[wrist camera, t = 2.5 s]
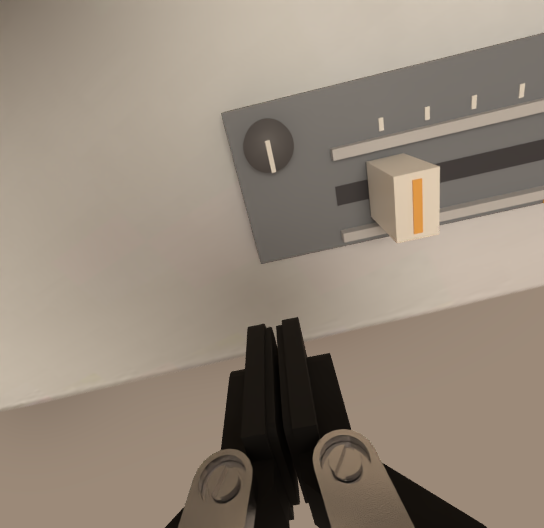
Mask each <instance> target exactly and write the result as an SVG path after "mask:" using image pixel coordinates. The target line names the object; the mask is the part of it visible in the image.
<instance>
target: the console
mask: <svg viewBox="0 0 544 528" xmlns="http://www.w3.org/2000/svg"><path fill="white" fill-rule="evenodd" d="M221 115H222V119H223V123H224V127H225V130H226V134H227V138H228V142H229V145H230V149H231V153H232V157H233V160H234V164H235V168H236V172H237V175H238V179H239V183H240V187H241V191H242V194H243V198H244V202H245V206H246V209H247V213H248V217H249V221H250V224H251V228H252V232H253V236H254V239H255V243H256V247H257V251H258V254H259V258H260V262H261V264H263V263H268V262H273V261H277V260H282V259H286V258H291V257H296V256H300V255H305V254H309V253H314V252H319V251H323V250H328V249H333V248H337V247H342V246H346V245H351V244H356V243H360V242H365V241H369V240H374V239H379V238H383V237H388V236H389V235H388V234H387V233H386V232H385V231H384V229H383V228H382V227H381V226H380V225H379V224H378V223H377V222H376V221H375V220H374V219H373V218H372V217H371V210H370V199H369V188H368V176H367V165H366V162H367V161H372V160H376V159H380V158H384V157H389V156H393V155H397V154H402V153H404V154H407V155H409V156H412V157H415V158H418V159H420V160H423V161H426V162H429V163H432V164H434V165H437V166H440V209H439V225H443V224H448V223H452V222H457V221H461V220H466V219H471V218H475V217H480V216H485V215H489V214H494V213H498V212H503V211H508V210H512V209H517V208H521V207H526V206H531V205H535V204H540V203H544V33H542V34H538V35H534V36H529V37H525V38H521V39H517V40H513V41H509V42H505V43H501V44H497V45H493V46H489V47H485V48H481V49H477V50H473V51H469V52H465V53H461V54H457V55H453V56H449V57H445V58H441V59H437V60H433V61H429V62H425V63H421V64H417V65H413V66H409V67H404V68H400V69H396V70H392V71H388V72H384V73H380V74H376V75H372V76H368V77H364V78H360V79H356V80H352V81H348V82H344V83H340V84H336V85H332V86H328V87H324V88H320V89H316V90H312V91H308V92H304V93H300V94H296V95H292V96H288V97H284V98H280V99H275V100H271V101H267V102H263V103H259V104H255V105H251V106H247V107H243V108H239V109H235V110H231V111H227V112H224V113H221Z"/></svg>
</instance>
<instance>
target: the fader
mask: <svg viewBox="0 0 544 528" xmlns="http://www.w3.org/2000/svg"><path fill="white" fill-rule="evenodd" d="M366 165H367V176H368V188H369V199H370V210H371V217H372V218H373V219H374V220H375V221H376V222H377V223H378V224H379V225H380V226H381V227H382V228H383V229H384V231H385V232H386V233H387V234H388V235H389V236H390V237H391V238H392V239H393V240H394V241H395V242H396V243H401V242H406V241H410V240H415V239H420V238H424V237H429V236H433V235H438V234H439V209H440V166H437V165H434V164H432V163H429V162H426V161H423V160H420V159H418V158H415V157H412V156H409V155H407V154H404V153H402V154H397V155H393V156H389V157H384V158H380V159H376V160H372V161H367V162H366Z"/></svg>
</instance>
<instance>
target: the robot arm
mask: <svg viewBox="0 0 544 528" xmlns="http://www.w3.org/2000/svg"><path fill="white" fill-rule="evenodd" d="M276 330H277V344H276V341H275V337H274V333H273V330H272V327H268V328H266V326H265V324H261V325H256V326H250V327H248V330H247V346H246V363H245V369H243V370H239V371H233V372H231V373H230V377H229V386H228V394H227V403H226V411H225V420H224V428H223V437H222V445H221V450H220V451H218V452H216V453H214V454H212V455H211V456H209V457H208V458H207V459H206V460H205V461H204V462H203V463H202V464H201V466H200V467H199V468H198V470H197V472H196V474H195V476H194V478H193V481H192V485H191V488H190V491H189V494H188V497H187V501H186V504H185V507H184V508H183V509H182V510H181V511H180V512H179V513H178V514H177V515H176V516H175V517H174V518H173V519H172V521H171V522H170V523H169V524H168V525H167V526H166V527H165V528H289V520H294V512H293V505H298V504H300V498H299V488H298V480H299V483H300V486H301V490H302V493H303V496H304V500H305V503H309V506H310V509H311V512H312V516H313V519H314V523H315V525H317V526H318V527H319V528H487V527H486V526H484V525H483V524H482V523H480V522H478V521H477V520H475V519H473V518H472V517H470V516H469V515H467V514H465V513H464V512H462V511H460V510H459V509H457V508H455V507H454V506H452V505H451V504H449V503H447V502H446V501H444V500H442V499H441V498H439V497H437V496H436V495H434V494H433V493H431V492H429V491H428V490H426V489H424V488H423V487H421V486H419V485H418V484H416V483H414V482H413V481H411V480H410V479H408V478H406V477H405V476H403V475H401V474H400V473H398V472H396V471H395V470H393V469H392V468H390V467H388V466H387V465H385V464H383V463H382V462H381V460H380V458H379V456H378V454H377V452H376V450H375V448H374V447H373V445H372V444H371V442H370V441H369V440H368V439H367V438H366V437H364V436H363V435H362V434H360V433H358V432H355V431H353V430H351V427H350V423H349V420H348V416H347V413H346V409H345V405H344V402H343V398H342V395H341V391H340V388H339V384H338V380H337V377H336V373H335V370H334V366H333V362H332V359H331V355H330V353H328V354H323V355H317V356H312V357H307V355H306V350H305V346H304V341H303V337H302V332H301V328H300V323H299V319H298V317H296V318H291V319H286V320H282V325H278V326H276ZM277 345H278V348H277Z"/></svg>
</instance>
